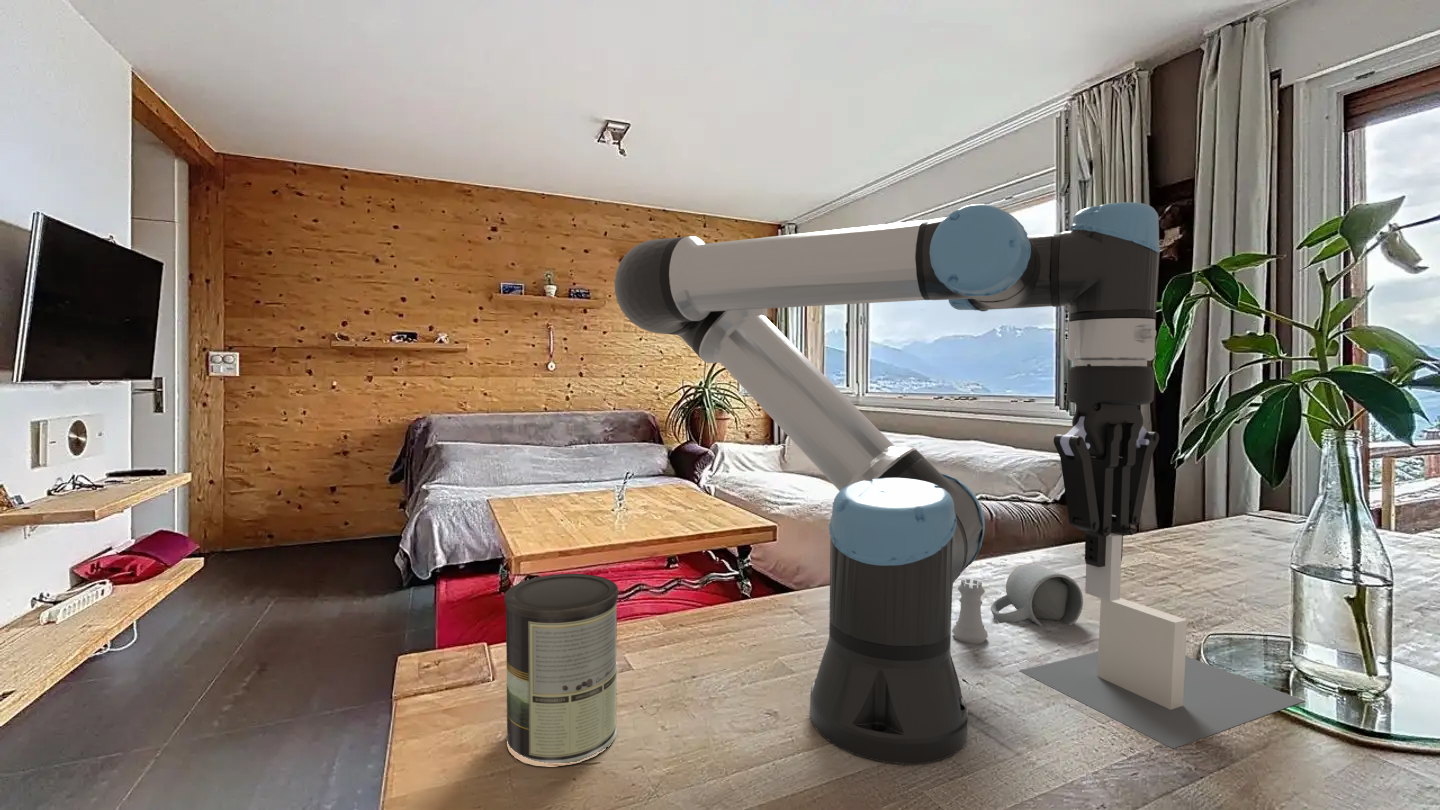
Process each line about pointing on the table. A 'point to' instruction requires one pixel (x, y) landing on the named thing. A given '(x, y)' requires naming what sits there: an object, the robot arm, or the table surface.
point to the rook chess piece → (970, 614)
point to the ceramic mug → (1039, 596)
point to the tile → (1143, 651)
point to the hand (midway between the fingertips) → (1102, 595)
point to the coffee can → (561, 666)
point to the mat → (1205, 711)
